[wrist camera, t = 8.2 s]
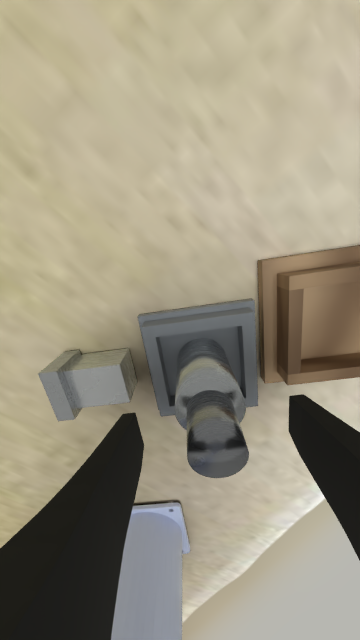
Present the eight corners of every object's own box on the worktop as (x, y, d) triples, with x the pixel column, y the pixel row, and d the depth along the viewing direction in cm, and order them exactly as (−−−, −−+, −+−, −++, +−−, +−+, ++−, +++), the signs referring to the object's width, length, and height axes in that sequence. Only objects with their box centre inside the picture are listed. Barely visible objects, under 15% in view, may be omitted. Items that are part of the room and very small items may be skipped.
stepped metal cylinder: (181, 383, 16) (179, 491, 9) (174, 341, 15) (164, 425, 8) (227, 378, 16) (265, 484, 8) (224, 335, 14) (263, 415, 7)
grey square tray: (159, 404, 17) (156, 421, 15) (139, 314, 15) (133, 322, 13) (255, 393, 17) (263, 409, 15) (251, 298, 14) (260, 304, 12)
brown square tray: (261, 377, 16) (273, 397, 14) (257, 260, 13) (272, 262, 11) (380, 363, 16) (413, 382, 13) (402, 238, 13) (449, 235, 11)
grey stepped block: (79, 392, 17) (58, 421, 14) (64, 351, 16) (38, 373, 13) (138, 385, 17) (128, 413, 14) (127, 343, 15) (115, 364, 13)
